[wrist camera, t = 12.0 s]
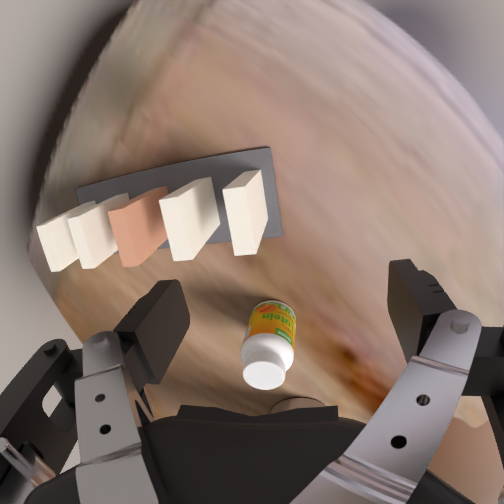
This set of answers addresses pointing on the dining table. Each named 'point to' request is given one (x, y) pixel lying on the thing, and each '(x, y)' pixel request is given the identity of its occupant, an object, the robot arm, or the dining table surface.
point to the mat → (183, 173)
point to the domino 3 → (139, 226)
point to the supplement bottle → (268, 345)
